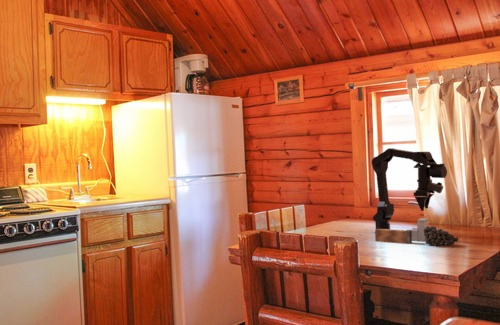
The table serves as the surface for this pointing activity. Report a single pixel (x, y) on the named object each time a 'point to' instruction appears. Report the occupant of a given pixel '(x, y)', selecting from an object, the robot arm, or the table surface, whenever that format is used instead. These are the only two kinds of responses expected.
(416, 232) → the grey block with legs
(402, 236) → the rail
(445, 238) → the fruit
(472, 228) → the table surface
